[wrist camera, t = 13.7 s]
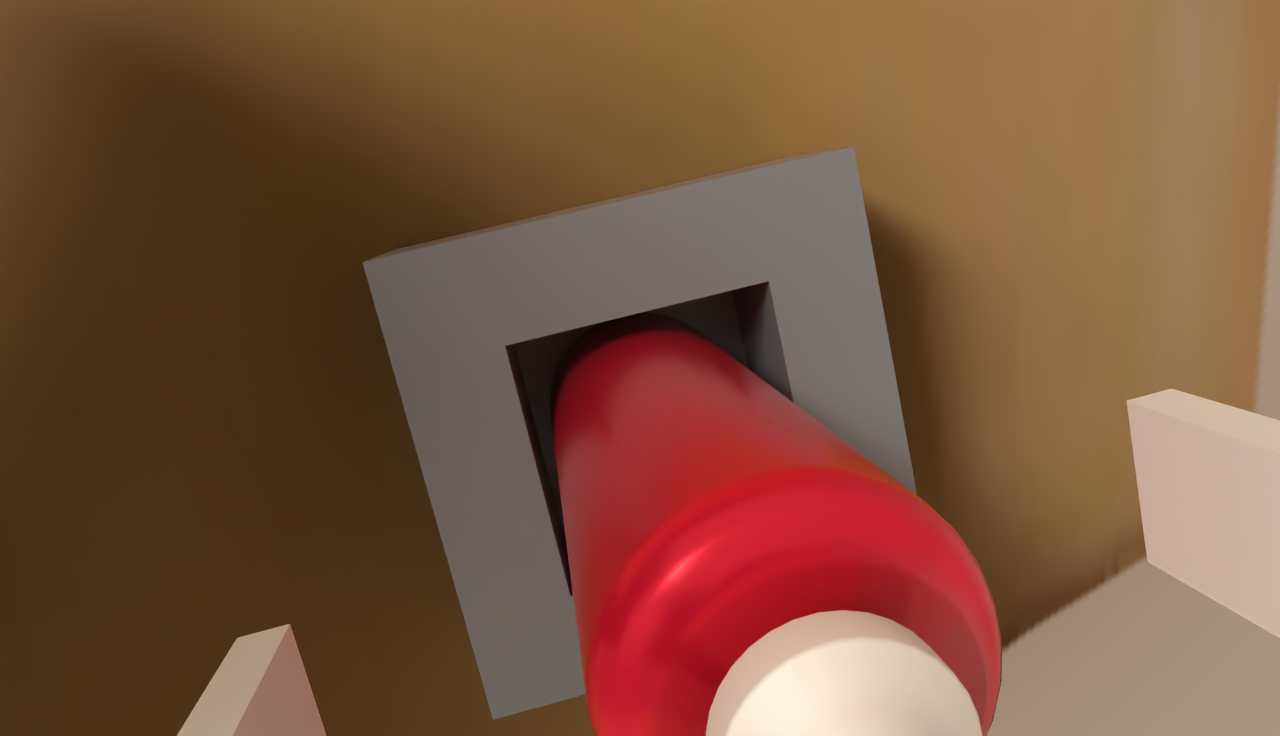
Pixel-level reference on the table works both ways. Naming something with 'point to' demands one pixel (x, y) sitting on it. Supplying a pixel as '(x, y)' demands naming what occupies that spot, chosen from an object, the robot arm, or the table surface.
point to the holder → (601, 291)
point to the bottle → (752, 558)
